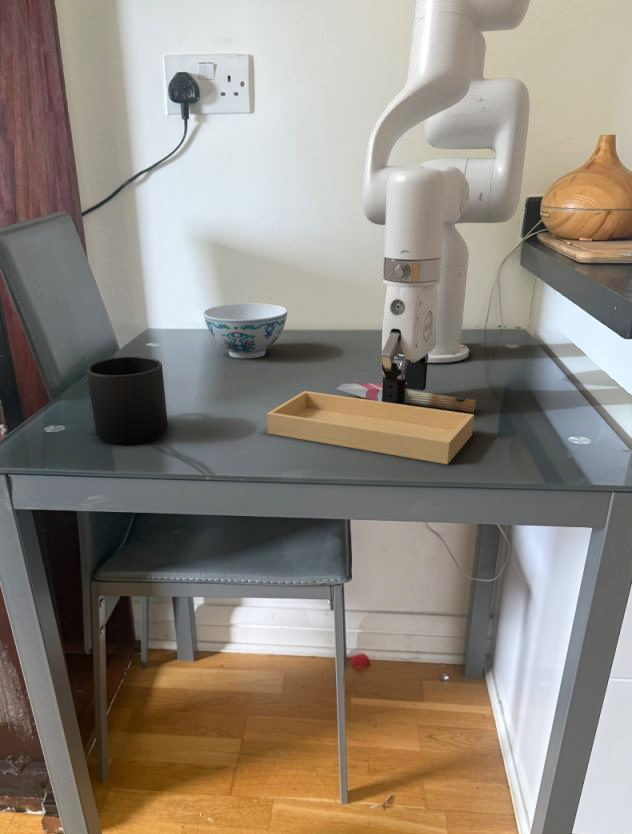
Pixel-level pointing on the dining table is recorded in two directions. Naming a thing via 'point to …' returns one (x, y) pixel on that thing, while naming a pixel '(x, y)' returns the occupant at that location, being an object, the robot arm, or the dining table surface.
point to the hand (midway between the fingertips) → (404, 396)
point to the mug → (128, 399)
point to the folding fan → (410, 397)
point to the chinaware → (246, 327)
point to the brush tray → (373, 426)
